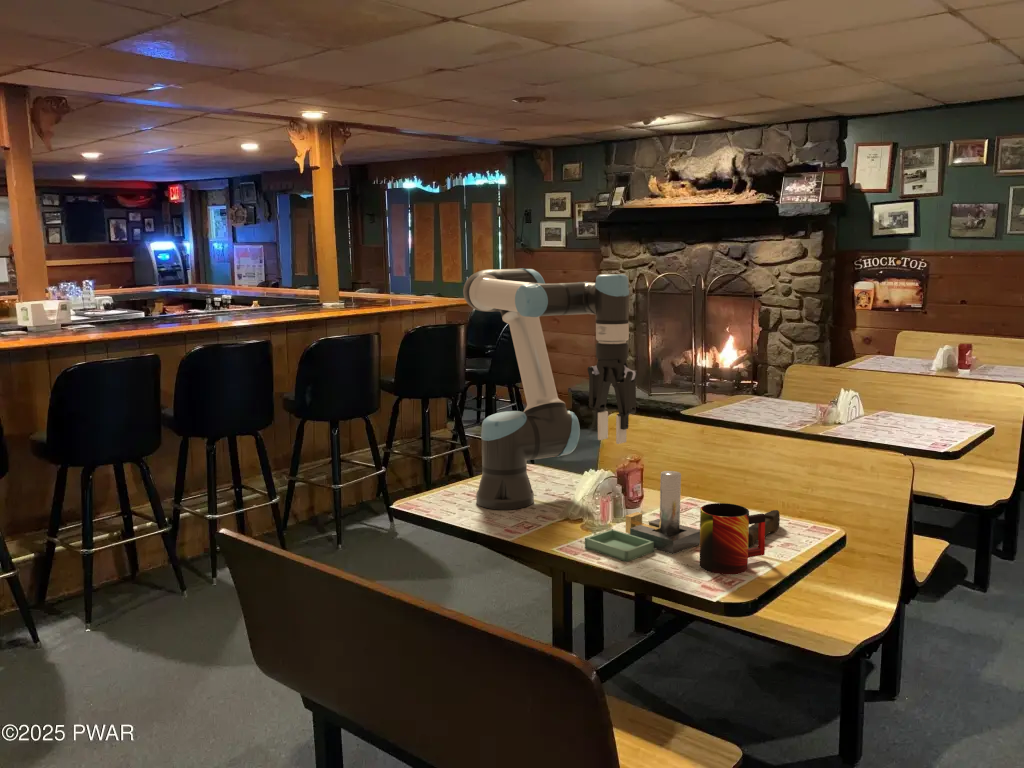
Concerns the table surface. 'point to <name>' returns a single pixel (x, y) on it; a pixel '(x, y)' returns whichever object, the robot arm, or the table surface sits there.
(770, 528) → the hand tool
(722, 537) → the mug
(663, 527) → the grey long rod
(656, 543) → the socket block
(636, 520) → the tan wooden stepped block
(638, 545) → the tray
